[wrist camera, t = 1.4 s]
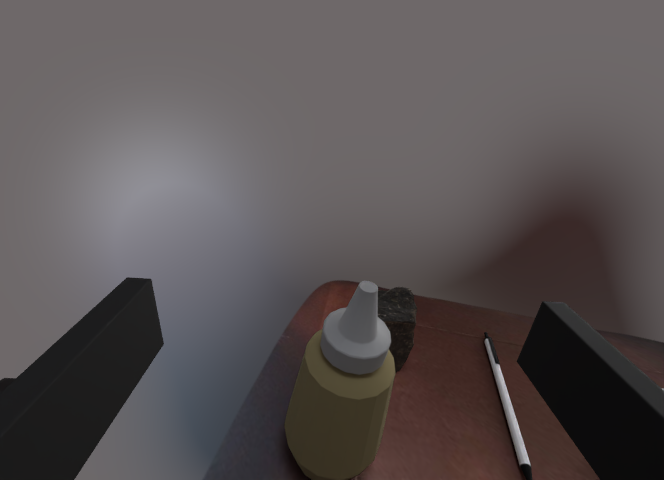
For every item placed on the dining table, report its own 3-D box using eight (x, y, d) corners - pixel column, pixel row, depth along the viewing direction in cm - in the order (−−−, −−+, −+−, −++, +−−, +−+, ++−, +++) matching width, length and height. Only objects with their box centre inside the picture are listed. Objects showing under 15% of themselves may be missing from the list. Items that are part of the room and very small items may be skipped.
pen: (487, 336, 44) (491, 330, 43) (535, 492, 27) (541, 485, 27) (481, 334, 44) (484, 328, 43) (524, 489, 27) (530, 482, 27)
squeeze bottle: (342, 393, 33) (381, 245, 24) (390, 473, 27) (463, 314, 18) (268, 424, 29) (282, 261, 20) (304, 526, 23) (346, 355, 14)
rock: (327, 378, 34) (337, 321, 31) (318, 330, 41) (325, 278, 37) (413, 372, 37) (432, 319, 33) (392, 328, 43) (406, 279, 39)
